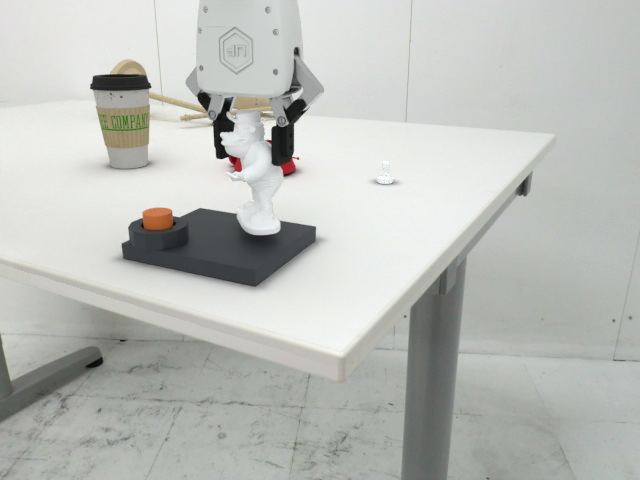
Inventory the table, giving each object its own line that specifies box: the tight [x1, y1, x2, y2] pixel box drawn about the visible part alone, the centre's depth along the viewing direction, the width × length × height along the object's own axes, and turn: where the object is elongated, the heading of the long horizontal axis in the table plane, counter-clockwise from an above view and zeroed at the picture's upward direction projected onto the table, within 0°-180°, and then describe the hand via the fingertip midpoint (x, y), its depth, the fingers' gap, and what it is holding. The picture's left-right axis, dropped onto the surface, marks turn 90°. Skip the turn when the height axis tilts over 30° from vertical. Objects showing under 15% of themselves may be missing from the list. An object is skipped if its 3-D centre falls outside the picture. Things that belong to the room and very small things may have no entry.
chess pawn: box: [376, 160, 394, 185], centre depth 90 cm, size 3×3×4 cm
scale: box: [121, 207, 317, 287], centre depth 62 cm, size 16×14×4 cm
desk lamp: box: [109, 58, 273, 125], centre depth 150 cm, size 15×35×40 cm
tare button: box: [141, 207, 174, 230], centre depth 59 cm, size 3×3×2 cm
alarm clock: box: [227, 139, 300, 175], centre depth 98 cm, size 10×6×15 cm
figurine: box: [220, 110, 285, 235], centre depth 60 cm, size 9×7×12 cm
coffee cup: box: [89, 73, 153, 170], centre depth 97 cm, size 10×10×15 cm
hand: (253, 158), depth 60 cm, fingers closed on figurine, 6 cm apart
